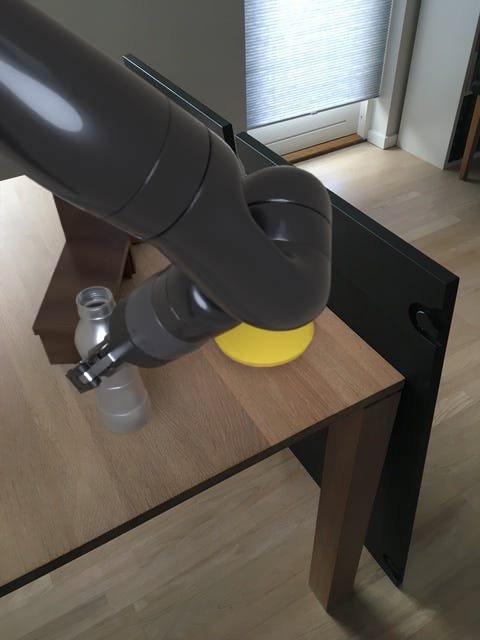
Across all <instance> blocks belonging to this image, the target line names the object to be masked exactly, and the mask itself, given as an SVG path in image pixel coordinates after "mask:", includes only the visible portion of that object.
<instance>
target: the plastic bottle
mask: <svg viewBox="0 0 480 640" xmlns="http://www.w3.org/2000/svg"><path fill="white" fill-rule="evenodd" d="M76 304H77V307H78V313H79V316H80V318H81V320H80V321H79V323H78V326H77V328H76V330H75V345H76V347H77V350H78V352H79V354H80V355H81V357H82V359H83V360H85V359H86V358H87V357H88V351H89V350H90V349H92V348H93V347H94V346H95V345H97V344H98V343H100V342H101V341H102V340H104V336H105V335H106V334H108V333H109V321H110V316H111V313H112V311H113V309H114V307H115V306H116V304H117V302H116V303H115V301H114V299H113V295H112V293H111V291H110V290H109V289H107V288H105V287H100V286H95V287H90V288H87V289H84V290H83V291H81V292H80V293H79V294H78V295H77V297H76ZM110 342H111V341H110ZM107 344H108V343H107ZM107 344H106V345H107ZM106 345H105V346H106ZM105 346H103V347H102V349H103V348H104V347H105ZM90 363H91V364H92V365H93V364H95V363H94V362H93V361H90ZM139 369H140V367H138V366H135V365H132V366H130V367H124V368H123V369H121V370H120V371H118V372H117V373H116V374H114V375H113V376H111V377H109V378H108V377H105V376H103V377H101V378H102V379H103V380H102V382H101V383H100V386H98V387H97V388H94V392H95V397H96V399H95V401H96V402H95V403H96V405H95V406H96V413H97V417H98V419H99V421H100V423H101V424H102V426H103V427H104V429H105V430H107V431H108V432H110V433H111V434H115V435H119V436H129V435H130V436H131V435H133V434H137V433H138V432H140V431H141V430H142V429H143V428H145V427H146V426H147V424H148V423H149V422H150V419H151V417H152V409H153V408H152V405H153V404H152V399H151V396H150V395H149V392H148V391H147V389H146V387H145V385H144V382H143V379H142V377H141V373H140V370H139Z"/></svg>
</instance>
